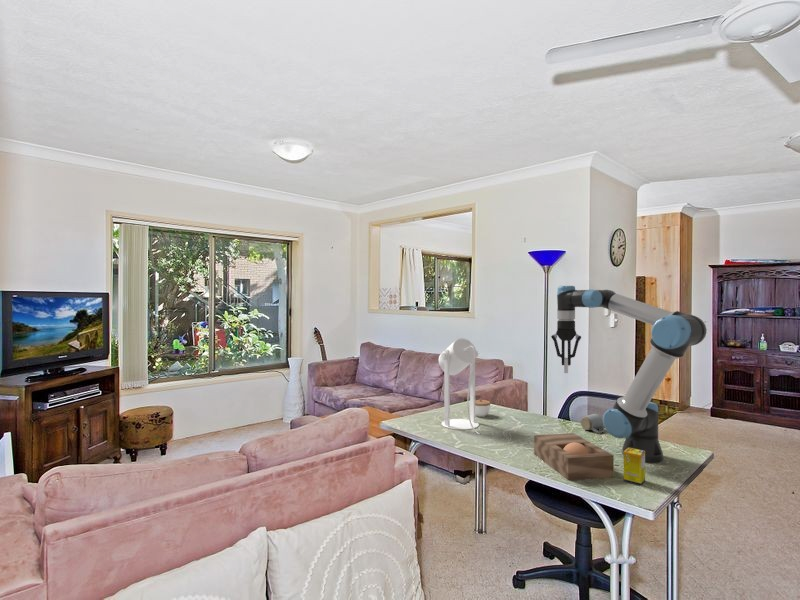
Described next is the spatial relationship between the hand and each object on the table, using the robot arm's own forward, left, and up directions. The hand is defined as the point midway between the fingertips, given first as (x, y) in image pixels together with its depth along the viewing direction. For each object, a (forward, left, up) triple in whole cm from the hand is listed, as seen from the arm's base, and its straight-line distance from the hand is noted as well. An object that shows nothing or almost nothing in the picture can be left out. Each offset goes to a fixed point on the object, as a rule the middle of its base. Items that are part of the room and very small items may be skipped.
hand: (566, 372), depth 209 cm
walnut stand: (-2, +25, -32) cm, 41 cm away
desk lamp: (+50, -13, -33) cm, 61 cm away
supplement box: (-24, +35, -33) cm, 54 cm away
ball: (-4, +30, -27) cm, 41 cm away
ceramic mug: (-12, -28, -33) cm, 44 cm away
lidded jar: (+46, -37, -33) cm, 67 cm away
